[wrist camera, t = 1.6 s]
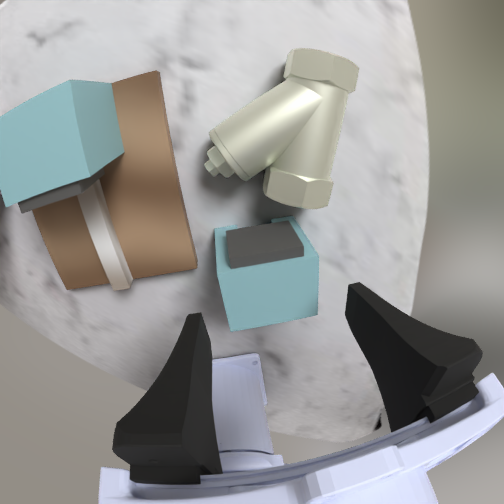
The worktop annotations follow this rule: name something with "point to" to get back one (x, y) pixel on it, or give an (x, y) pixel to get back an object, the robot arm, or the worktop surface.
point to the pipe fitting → (289, 130)
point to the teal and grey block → (266, 273)
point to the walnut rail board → (125, 203)
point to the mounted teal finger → (58, 143)
